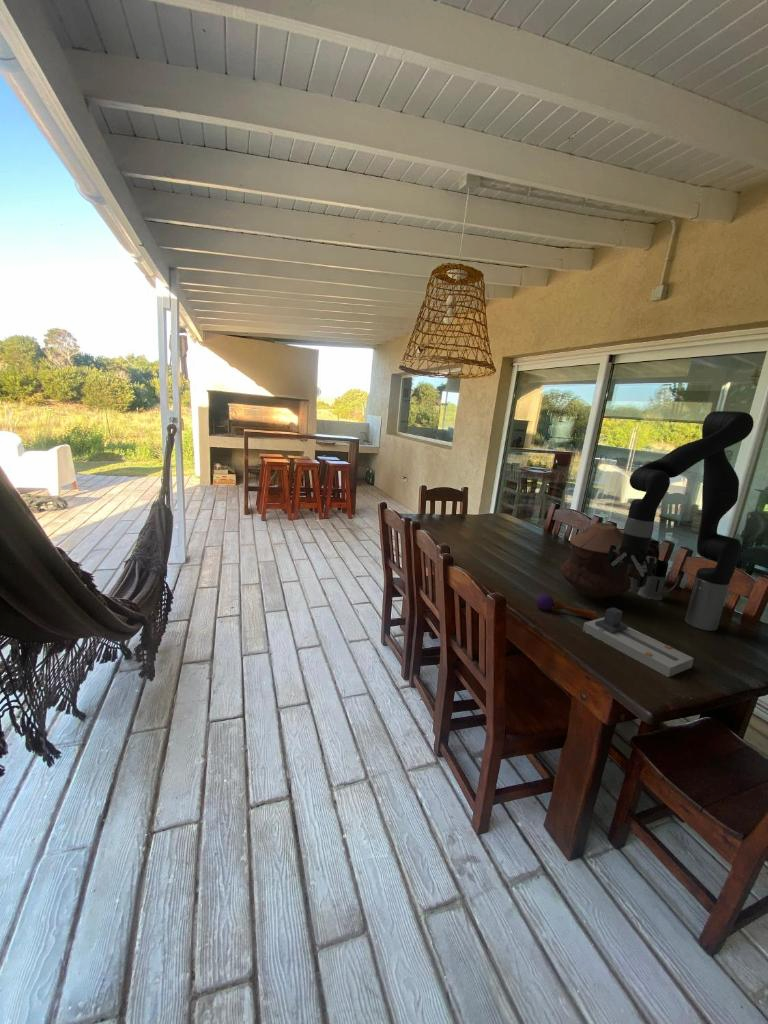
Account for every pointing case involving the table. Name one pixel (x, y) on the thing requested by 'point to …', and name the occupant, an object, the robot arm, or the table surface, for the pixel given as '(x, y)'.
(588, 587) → the pottery vessel
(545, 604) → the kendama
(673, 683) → the table surface
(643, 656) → the slider console
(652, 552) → the owl
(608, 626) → the fader tab
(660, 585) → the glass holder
